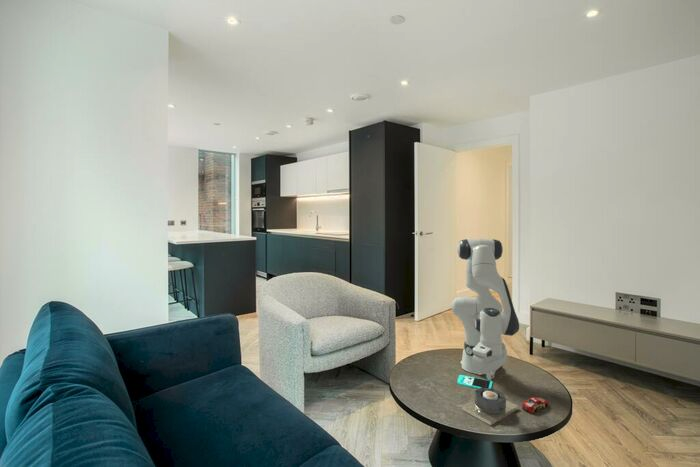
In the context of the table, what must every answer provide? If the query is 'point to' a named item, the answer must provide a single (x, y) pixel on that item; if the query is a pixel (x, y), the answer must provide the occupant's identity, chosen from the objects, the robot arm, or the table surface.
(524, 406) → the race car
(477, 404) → the grey socket on board
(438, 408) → the table surface
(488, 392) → the halved boiled egg
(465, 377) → the handheld game console
